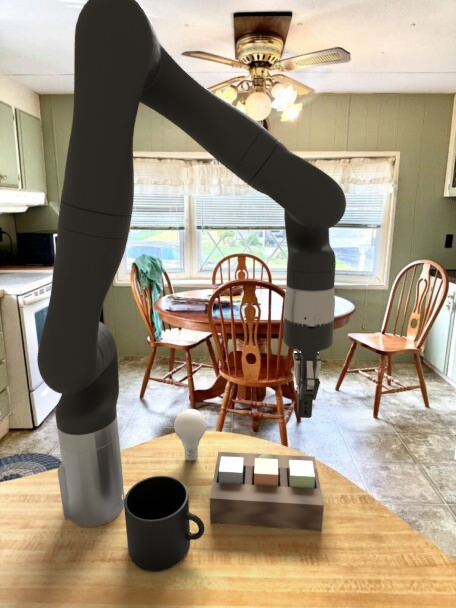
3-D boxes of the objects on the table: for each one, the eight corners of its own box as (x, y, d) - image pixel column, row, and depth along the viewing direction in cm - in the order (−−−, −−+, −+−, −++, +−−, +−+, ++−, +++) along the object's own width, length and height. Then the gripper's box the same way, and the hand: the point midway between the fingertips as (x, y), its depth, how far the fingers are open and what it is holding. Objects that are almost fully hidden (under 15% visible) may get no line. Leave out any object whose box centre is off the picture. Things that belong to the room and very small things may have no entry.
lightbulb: (206, 469, 79) (204, 420, 76) (173, 469, 79) (171, 420, 76) (208, 449, 85) (206, 402, 82) (178, 449, 85) (175, 402, 82)
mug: (195, 583, 56) (193, 530, 54) (116, 566, 59) (111, 515, 56) (213, 529, 65) (212, 482, 62) (144, 516, 68) (140, 471, 65)
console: (210, 523, 66) (209, 496, 65) (218, 474, 78) (218, 450, 76) (321, 530, 65) (323, 503, 63) (313, 479, 76) (314, 455, 75)
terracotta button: (254, 495, 69) (254, 473, 67) (254, 479, 72) (254, 458, 71) (277, 497, 68) (278, 474, 67) (276, 480, 72) (277, 459, 71)
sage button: (289, 497, 68) (290, 475, 67) (288, 481, 72) (289, 459, 71) (313, 499, 68) (314, 476, 67) (310, 482, 72) (312, 461, 70)
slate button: (219, 493, 69) (218, 471, 68) (221, 477, 73) (221, 456, 72) (242, 494, 69) (242, 472, 68) (243, 478, 73) (243, 457, 71)
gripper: (282, 302, 68) (279, 395, 73) (286, 328, 55) (283, 438, 60) (327, 303, 67) (321, 396, 72) (342, 329, 55) (334, 440, 59)
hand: (304, 415), depth 66 cm, fingers closed
